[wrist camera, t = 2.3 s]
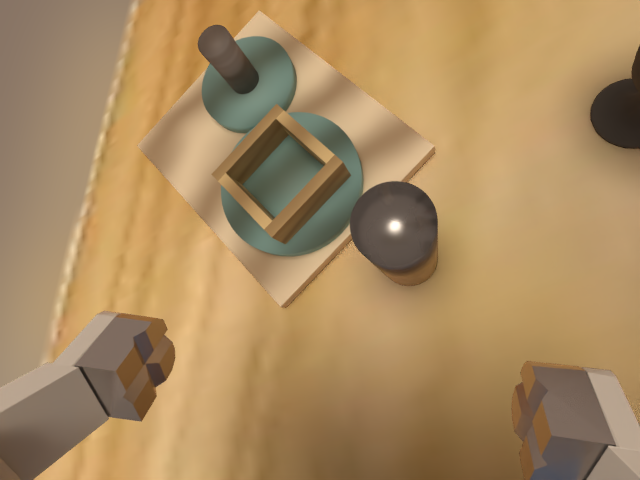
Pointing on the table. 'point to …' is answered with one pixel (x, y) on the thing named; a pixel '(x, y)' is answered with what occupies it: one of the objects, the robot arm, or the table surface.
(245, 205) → the gear board
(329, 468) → the table surface
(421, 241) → the axle
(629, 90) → the sundae
